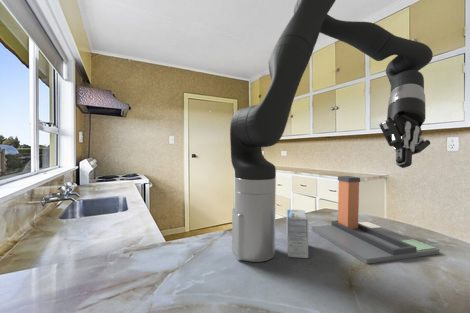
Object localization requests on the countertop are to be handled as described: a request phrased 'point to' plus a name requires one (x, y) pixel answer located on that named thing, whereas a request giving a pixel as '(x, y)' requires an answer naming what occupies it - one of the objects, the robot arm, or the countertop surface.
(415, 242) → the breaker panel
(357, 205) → the handle
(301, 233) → the medicine box
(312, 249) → the countertop surface
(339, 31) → the robot arm
